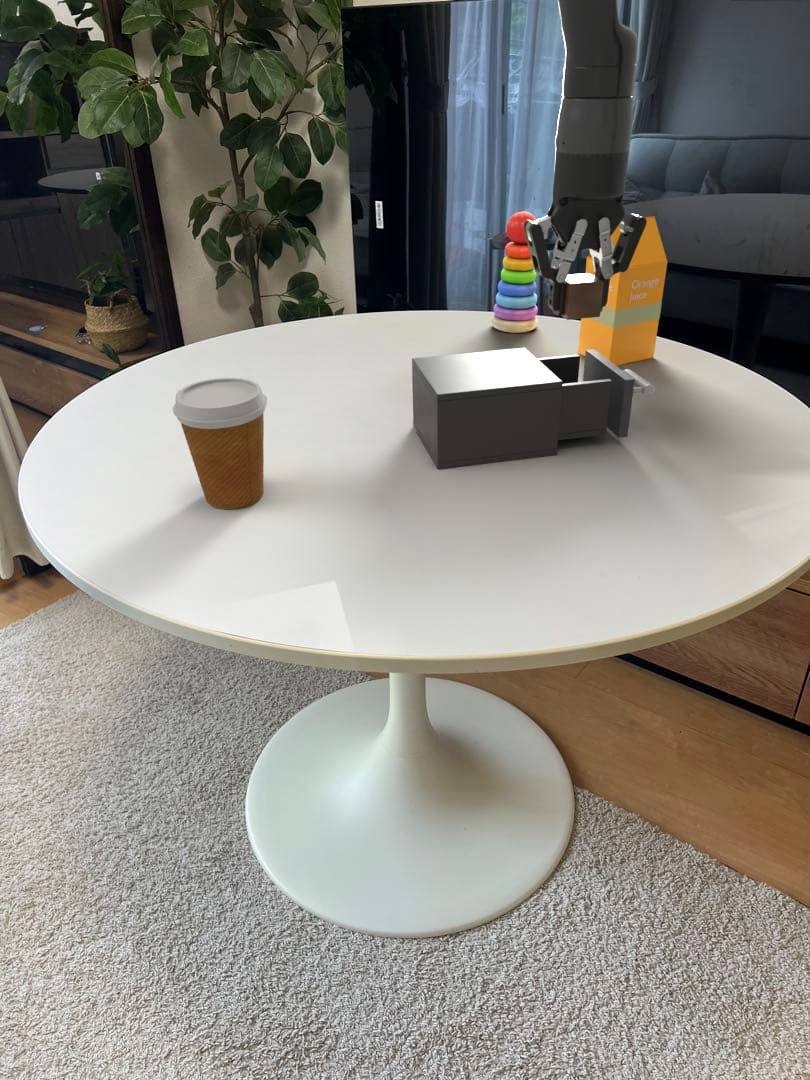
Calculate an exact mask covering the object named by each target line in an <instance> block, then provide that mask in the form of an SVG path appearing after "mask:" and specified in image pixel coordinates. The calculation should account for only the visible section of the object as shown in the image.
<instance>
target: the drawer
mask: <svg viewBox="0 0 810 1080" xmlns="http://www.w3.org/2000/svg"><path fill="white" fill-rule="evenodd" d="M536 358H537V359H538V360H539V361H540V362H541V363H542V364H544V365H545V366H546V367H547V368H548V369H549V370H550V371H551V372H552V373H554V374H555V375H556V376H557V377H558V378H559V379H560V380H561V381H562V382H563V384H562V397H561V409H560V420H559V432H558V441H564V440H572V439H581V438H589V437H597V436H606V434H607V429H608V430H609V431H610V432H611V433H612V434H614V436H615V437H616V438H618V439H623V438H628V435H629V434H628V433H629V428H630V427H629V426H630V419H631V411H632V404H633V397H634V394H643V395H644V396H646V397H648V396H649V397H650V396H651V395H652V394H654V391H655V387H654V385H652V384H651V383H650V382H649V381H647V380H646V379H644V378H643V377H641V376H640V375H639V374H637V373H636V372H634V371H633V370H632V369H630V368H626V369H624V370H623V369H622V368H621V367H619V365H617V366H616V365H615V364H614V363H612V362H611V361H609V360H608V359H607V358H605V357H604V356H603V355H601V354H600V353H599V352H597V351H596V350H595V349H592V350H586V354H585V356H584V366H583V377H582V381H579V374H580V364H581V355H580V354H578V353H576V354H567V355H558V356H548V357H536Z"/></svg>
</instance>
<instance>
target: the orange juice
mask: <svg viewBox="0 0 810 1080" xmlns="http://www.w3.org/2000/svg"><path fill="white" fill-rule="evenodd" d="M643 217H644V218H646V220H647V224H646V226H645V229H644V231H643V233H642V236H641V238H640V241H639V243H638V245H637V248H636V250H635V253H634V255H633V257H632V260H631V262H630V265H629V267H628V269H627V270H626V271H625V272H618V273H616V274H614V275H613V276H612V277H611V279H610V283H609V292H608V301H607V304H606V306H605V307H603V309H602V312H600V317H592V318H581V319H580V328H579V329H580V330H579V339H578V351H577V354H578V355H580V356H582V357H585V354H586V350H592V349H595V350H596V351H597V352H599V353H600V354H601V355H603V356H604V357H605V358H607V359H608V360H609V361H611V362H612V363H614V364H615V365H616V366H621V365H625V364H630V363H635V362H639V361H640V362H641V361H644V360H648V359H653V358H654V356H655V350H656V342H657V336H658V330H659V329H658V327H659V322H660V319H661V311H662V304H663V295H664V288H665V281H666V274H667V267H668V259H667V255H666V251H665V248H664V245H663V242H662V239H661V234H660V231H659V227H658V224H657V221H656V218H655V217H656V216H655V215H651V216H643ZM620 225H621V223H620V224H619V226H618V227H617V228H616V230H615V231H614V232H613V234H612V235H611V245H612V252H613V251H614V249H615V246H616V244H617V241H618V239H619V236H620V234H621V231H620ZM585 273H589V274H591V275H593V276H595V272H594V266H593V260H592V255H591V254H590V253H589V254H588V255H587V257H586V263H585Z"/></svg>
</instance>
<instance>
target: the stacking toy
mask: <svg viewBox="0 0 810 1080" xmlns="http://www.w3.org/2000/svg"><path fill="white" fill-rule="evenodd" d="M527 220H531V221H536V220H537V218H536V217H535V216H534V215H533V214H532V213H531V212H528V211H518V212H515V213H514V214H512V215H511V216H510V217H509V219H508V221H507V223H506V235H507V237H508V239H509V240H510V242H508V243H507V244H506V245H505V247H504V253H505V254H506V256H504V258H503V259H502V265H503V268H502V270H501V272H500V278H501V280H500V281H499V282H498V283H497V290H498V292H497V293H496V295H495V305H494V306H493V314H494V315H493V316H492V318H491V325H492V326H493V328H494V329H496V330H498V331H500V332H505V333H511V334H512V333H514V334H516V333H517V334H519V333H527V332H530V331H532V330H534V329H536V328H537V326H538V325H539V319H538V317H537V314H538V312H539V311H538V306H537V305H536V304H537V303H538V296H537V293H536V291H537V288H538V286H537V282H536V281H535V280H536V279H537V276H538V274H537V273H536V272H535V271H534V268H533V264H532V260H531V256H530V252H529V248H528V244H527V240H526V236H525V232H524V228H523V226H524V223H525V222H526V221H527Z"/></svg>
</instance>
